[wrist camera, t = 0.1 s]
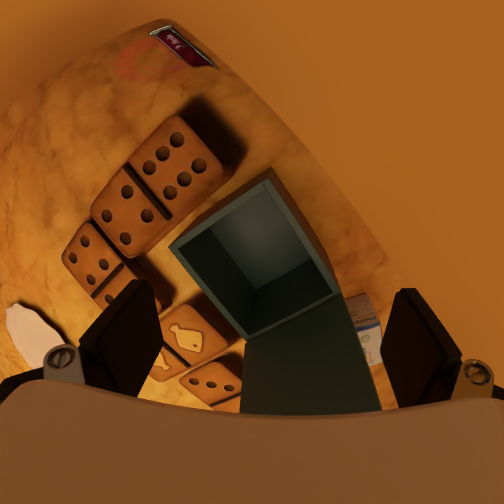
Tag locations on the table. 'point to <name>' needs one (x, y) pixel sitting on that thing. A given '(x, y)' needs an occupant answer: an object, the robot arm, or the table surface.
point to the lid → (309, 367)
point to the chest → (257, 258)
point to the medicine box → (366, 327)
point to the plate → (31, 334)
